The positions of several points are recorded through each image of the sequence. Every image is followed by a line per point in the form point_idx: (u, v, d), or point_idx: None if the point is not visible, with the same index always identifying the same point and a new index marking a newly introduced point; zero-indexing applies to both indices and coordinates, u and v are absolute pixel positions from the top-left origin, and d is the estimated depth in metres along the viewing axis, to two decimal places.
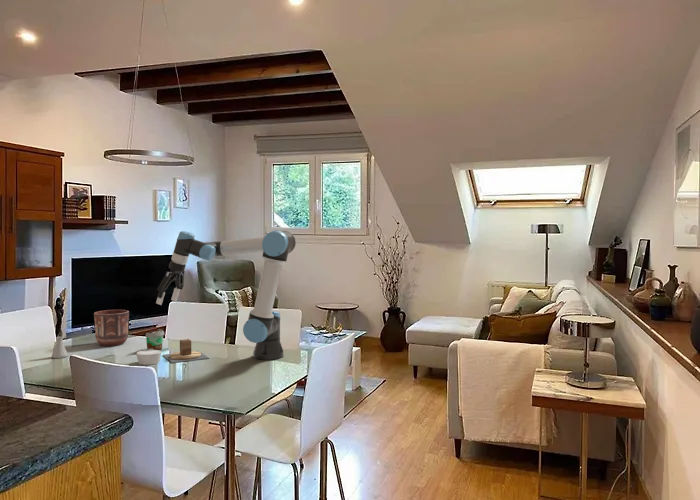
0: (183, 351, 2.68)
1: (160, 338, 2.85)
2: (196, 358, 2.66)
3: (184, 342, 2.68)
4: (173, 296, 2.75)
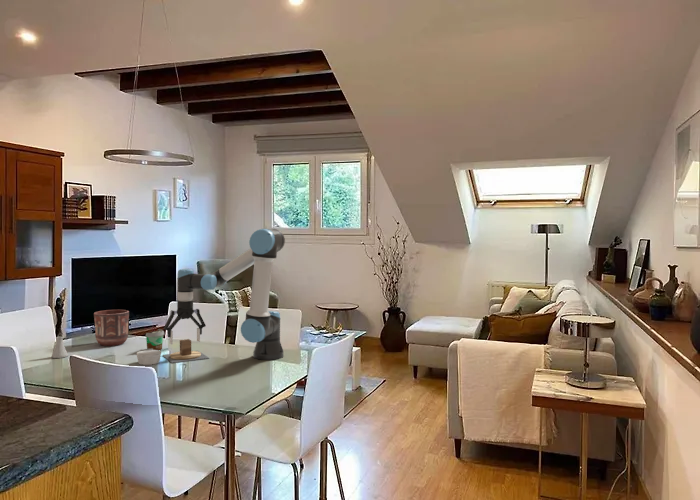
0: (183, 351, 2.68)
1: (160, 338, 2.85)
2: (196, 358, 2.66)
3: (184, 342, 2.68)
4: (197, 336, 2.74)
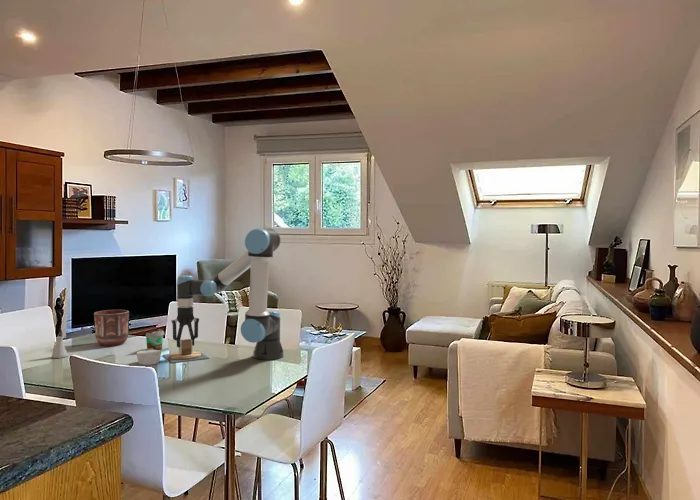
0: (183, 351, 2.68)
1: (160, 338, 2.85)
2: (196, 358, 2.66)
3: (184, 342, 2.68)
4: None
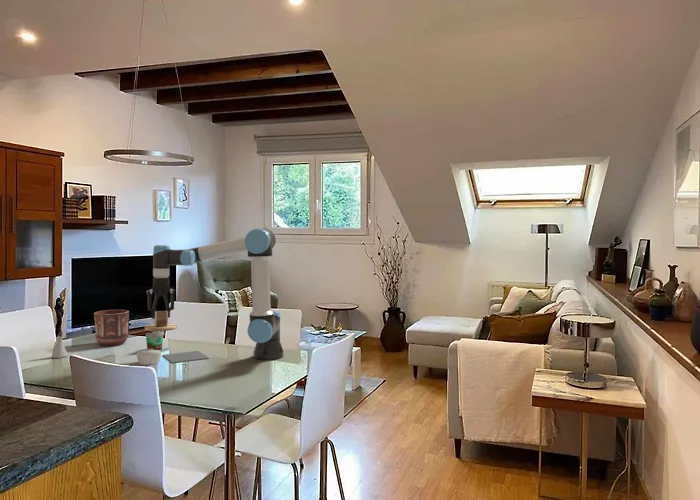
0: (158, 323, 2.60)
1: (160, 338, 2.85)
2: (196, 358, 2.66)
3: (159, 313, 2.60)
4: None
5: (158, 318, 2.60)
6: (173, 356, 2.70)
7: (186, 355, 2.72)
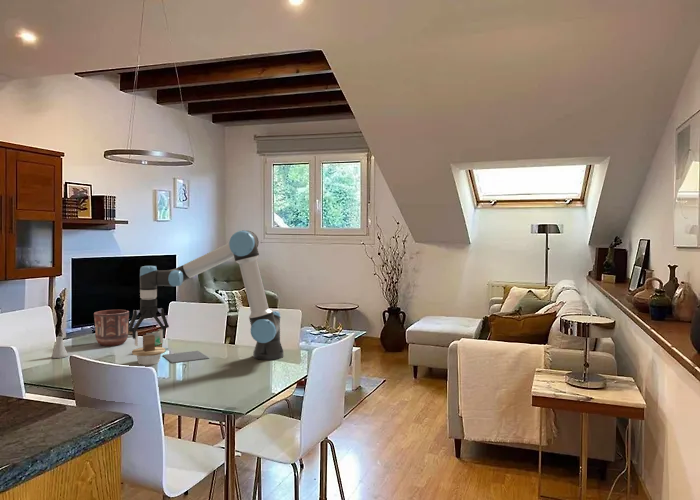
0: (145, 347, 2.56)
1: None
2: (196, 358, 2.66)
3: (147, 337, 2.56)
4: (160, 338, 2.62)
5: (146, 342, 2.56)
6: (173, 356, 2.70)
7: (186, 355, 2.72)
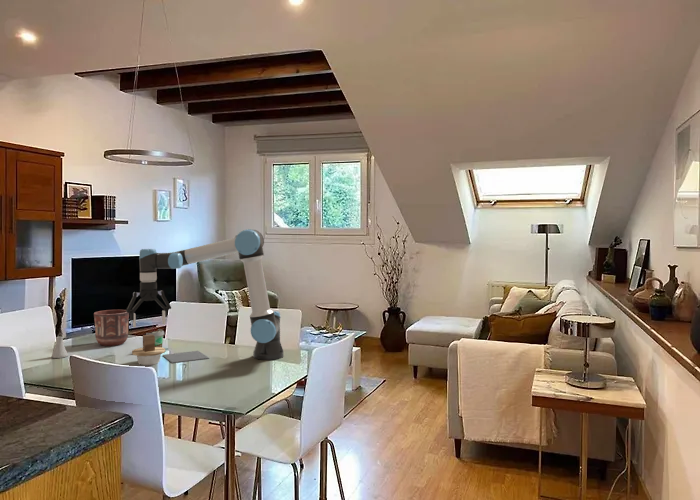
0: (145, 347, 2.56)
1: (160, 338, 2.85)
2: (196, 358, 2.66)
3: (147, 337, 2.56)
4: (162, 319, 2.63)
5: (146, 342, 2.56)
6: (173, 356, 2.70)
7: (186, 355, 2.72)
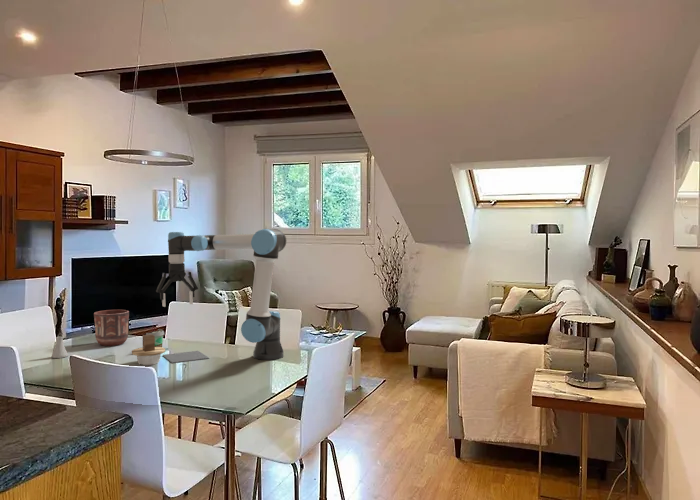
0: (145, 347, 2.56)
1: (160, 338, 2.85)
2: (196, 358, 2.66)
3: (147, 337, 2.56)
4: (190, 299, 2.74)
5: (146, 342, 2.56)
6: (173, 356, 2.70)
7: (186, 355, 2.72)
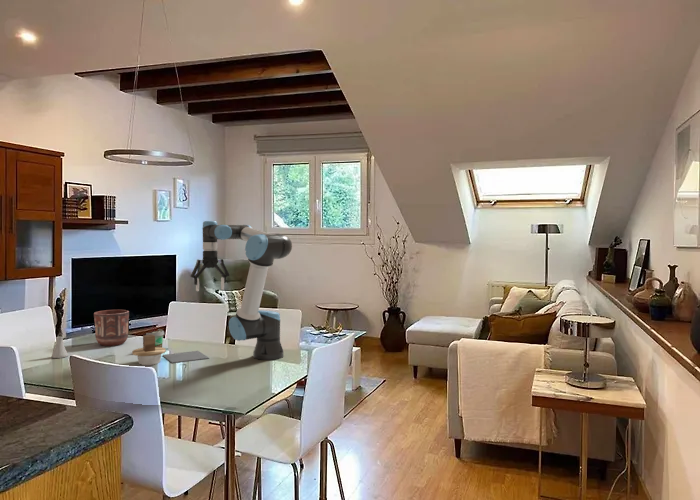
0: (146, 347, 2.56)
1: (160, 338, 2.85)
2: (196, 358, 2.66)
3: (147, 337, 2.56)
4: (221, 285, 2.90)
5: (146, 342, 2.56)
6: (173, 356, 2.70)
7: (186, 355, 2.72)
